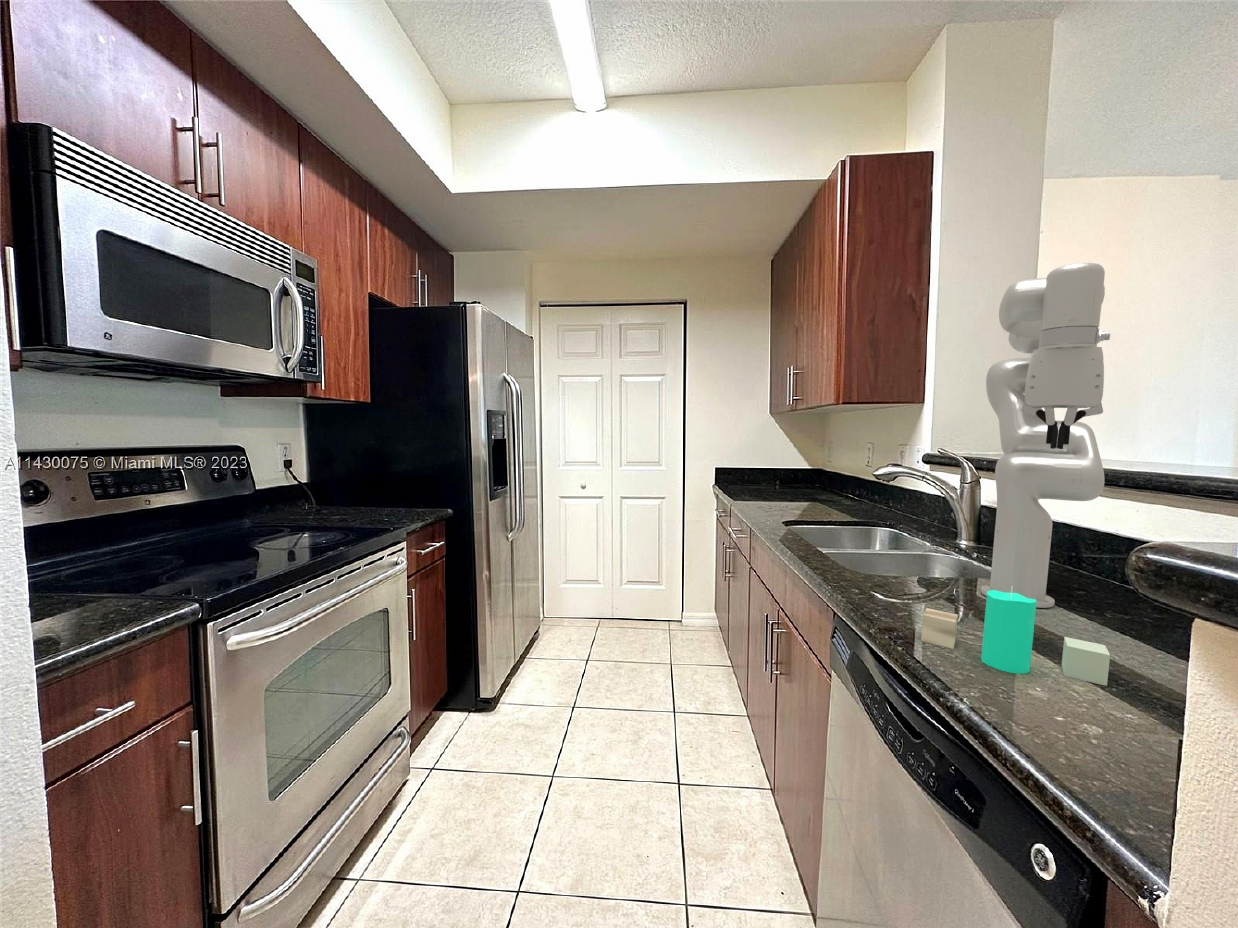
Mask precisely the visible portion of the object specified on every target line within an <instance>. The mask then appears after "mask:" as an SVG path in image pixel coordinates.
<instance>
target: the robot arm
mask: <svg viewBox="0 0 1238 928" xmlns="http://www.w3.org/2000/svg"><path fill="white" fill-rule="evenodd" d="M1105 273H1106V272H1105V269H1104V267H1103V266H1102V265H1101V264H1099V263H1094V262H1081V263H1080V262H1079V263H1073V264H1066V265H1063V266H1060V267H1056V268H1054V269H1053V270H1051V271H1050V272H1049V273H1048V274H1047V276H1046V277H1040V278H1030V279H1023V280H1018V281H1015V282H1012V283H1011V284H1010V285H1009V286H1008V287H1007V289H1006V291H1005V293H1004V294H1003V296H1002V299H1001V302H1000V306H999V308H998V309H999V311H998V319H999V323H1000V326H1001V328H1002V329H1003V330H1004V331H1006V332H1007V333H1008V341H1009V342H1008V343H1009V345H1010V346H1011V348H1013V349H1014V350H1015V351H1017V352H1019V353H1022V354H1031V357H1021V358H1020V357H1019V358H1018V357H1017V358H1008V359H1004V360H1000V361H997V362H995V363H994V364H992V365H991V366H990V368H988V370H987V372H986V378H985V385H986V387H985V389H986V394H987V395H986V396H987V399H988V402H989V404H990V406H991V407H992V410H993V412H994V413H995V414H996V416H997V419H998V424H999V425H998V426H999V427H998V429H999V436H1000V437H999V439H1000V440H999V441H1000V446H1001V451H1002V453H1003V454H1004V455H1003V456H1001V457H1000V458H999V459H998V460H997V462H996V465H995V470H994V477H995V486H996V488H995V489H996V514H995V515H996V516H995V524H994V535H993V536H994V537H993V548H992V560H991V570H990V581H989V582H990V583H989V584H985V585H982V586H981V587H980V593H982V595H984V596H986V597H987V591H991V590H996V591H1000V592H1004V593H1011V586H1013V589H1012V593H1018V594H1020V595H1022V596H1024V597H1026V598H1029V599H1036V601H1037V603H1036V609H1038V608H1039V609H1040V608H1041V609H1048V608H1052V607H1055V598H1053V597H1051V596H1049V595H1047V584H1048V573H1049V564H1050V553H1051V541H1052V534H1053V533H1052V531H1053V520H1052V517H1051V515H1050V513H1049V512H1048V511H1047V510H1046V509H1045V508H1044V506H1043V505H1041V504H1042V503H1040V501H1039V500H1056V501H1057V500H1058V501H1068V502H1089V501H1093V500H1095V499H1096V498H1098V497H1100V495H1102V493H1103V491H1104V487H1105V473H1104V472H1105V471H1104V467H1103V463H1102V457H1101V453H1100V451H1099V445H1098V442H1097V438H1096V435H1095V432H1094V430H1093V429H1092V428H1091V426H1090V425H1088V424H1087V423H1084V422H1081V421H1080V420H1081V419H1083V418H1085V417H1091V416H1098V415H1101V414H1103V413H1104V408H1103V404H1102V401H1103V395H1104V388H1105V387H1104V385H1105V384H1104V383H1105V364H1104V352H1103V348H1102V346H1098V344H1099V343H1101V342H1103V341H1110V339H1111V331H1102V330H1101V329H1100V322H1101V321H1100V320H1101V312H1102V305H1103V302H1104V300H1105V296H1106V294H1105V293H1106V292H1105V291H1106V289H1105V288H1106V287H1105ZM1055 409H1066V412H1065V415H1064V419H1063V420H1056V417H1055V416H1056V415H1055ZM1078 409H1080V410H1078Z"/></svg>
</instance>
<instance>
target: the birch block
mask: <svg viewBox="0 0 1238 928" xmlns="http://www.w3.org/2000/svg"><path fill="white" fill-rule="evenodd" d="M958 617H959V614H957V613H951V612H948V611H947V612H945V611H942V610H936V609H932V608H928V607H926V608H925V610H924V613H923V615H922V625H921V637H920V642H923V643H928V644H932V645H936V646H940V647H943V648H947V649H950V650H951V649H952V650H953V649H954V648H955V645H956V640H957V629H958V628H957V627H958V619H959V618H958Z"/></svg>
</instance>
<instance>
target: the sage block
mask: <svg viewBox="0 0 1238 928" xmlns="http://www.w3.org/2000/svg"><path fill="white" fill-rule="evenodd" d="M1063 639H1064V640H1063V647H1062V649H1063V650H1062V656H1061V658H1062V659H1061V668H1062V673H1063V676H1064V677H1068V678H1073V679H1077V680H1080V681H1083V682H1084V681H1085V682H1089V683H1093V684H1098V685H1102V686H1104V687H1105V686H1106V687H1108V681H1109V680H1108V679H1109V670H1110V659H1111V654H1110V652H1109V650H1108V648H1107V646H1106V645H1105V644H1101V643H1096V642H1091V641H1085V640H1082V639H1076V638H1072V637H1067V636H1064V638H1063Z"/></svg>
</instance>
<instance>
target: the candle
mask: <svg viewBox="0 0 1238 928" xmlns="http://www.w3.org/2000/svg"><path fill="white" fill-rule="evenodd" d="M1012 589H1013V586H1011V593H1004V592H1000V591H996V590H991V591H987V596H986V601H985V613H984V623H983V634H982V645H981V656H980V657H981V658H980V659H981V660H980V661H981V662H982V663H984V664H985V665H986V666H988V667H990V668H994V669H995V670H998V671H1002V672H1006V673H1010V674H1019V675H1025V674H1028V673H1030V672H1031V663H1032V662H1031V661H1032V654H1033V653H1032V652H1033V641H1034V631H1035V623H1036V621H1035V620H1036V612H1037V611H1036V610H1037V608H1036V603H1037V601H1036V599H1029V598H1026V597H1024V596H1022V595H1020V594H1018V593H1012Z"/></svg>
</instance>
